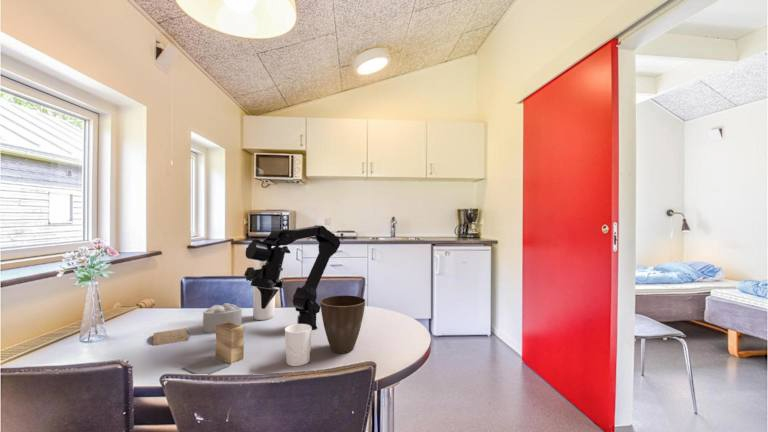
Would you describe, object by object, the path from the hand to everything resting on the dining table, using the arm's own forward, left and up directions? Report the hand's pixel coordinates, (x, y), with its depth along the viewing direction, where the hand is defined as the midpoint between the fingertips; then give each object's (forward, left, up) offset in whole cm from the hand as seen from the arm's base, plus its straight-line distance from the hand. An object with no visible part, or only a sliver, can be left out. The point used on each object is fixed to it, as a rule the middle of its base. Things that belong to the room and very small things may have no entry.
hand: (263, 308), depth 110 cm
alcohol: (-2, -30, -12) cm, 32 cm away
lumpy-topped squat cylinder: (+13, -22, -12) cm, 29 cm away
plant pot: (-24, +15, -12) cm, 31 cm away
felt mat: (+16, +13, -12) cm, 24 cm away
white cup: (-9, +19, -12) cm, 24 cm away
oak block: (+10, +9, -12) cm, 18 cm away
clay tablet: (+30, -18, -13) cm, 37 cm away
